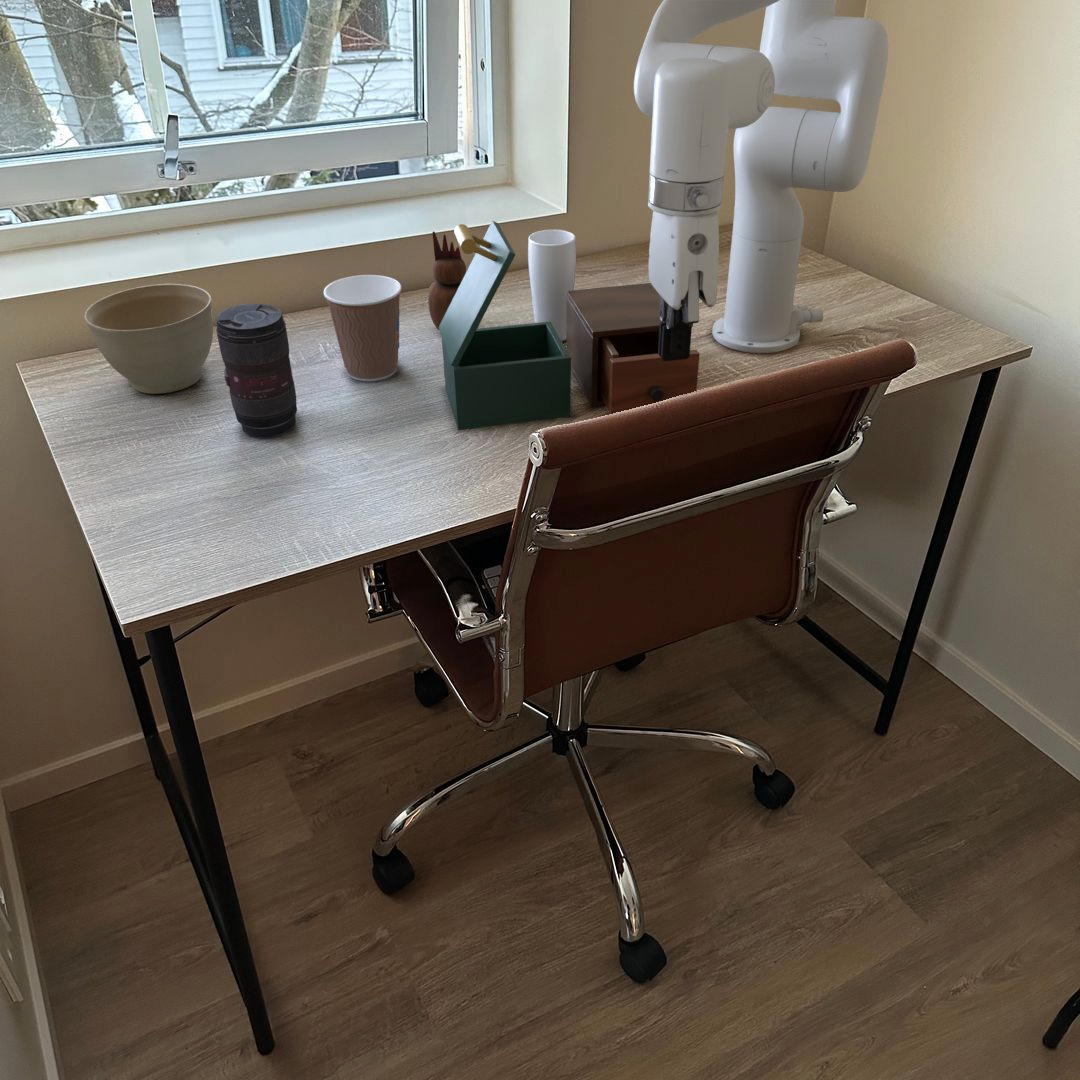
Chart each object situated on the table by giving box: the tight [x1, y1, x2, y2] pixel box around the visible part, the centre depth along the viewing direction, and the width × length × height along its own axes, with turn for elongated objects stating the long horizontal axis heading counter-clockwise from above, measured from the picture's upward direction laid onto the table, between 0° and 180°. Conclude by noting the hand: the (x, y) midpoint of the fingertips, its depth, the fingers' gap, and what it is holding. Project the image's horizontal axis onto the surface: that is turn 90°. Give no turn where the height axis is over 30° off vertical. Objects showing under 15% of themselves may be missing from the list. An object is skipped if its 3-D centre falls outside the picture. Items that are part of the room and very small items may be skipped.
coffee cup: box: [323, 274, 403, 382], centre depth 139 cm, size 10×10×12 cm
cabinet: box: [566, 282, 665, 409], centre depth 136 cm, size 14×12×11 cm
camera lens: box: [215, 303, 298, 439], centre depth 126 cm, size 8×8×15 cm
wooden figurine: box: [427, 231, 467, 331], centre depth 149 cm, size 7×6×15 cm
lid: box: [438, 220, 516, 367], centre depth 124 cm, size 15×12×5 cm
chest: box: [441, 322, 572, 431], centre depth 132 cm, size 15×12×8 cm
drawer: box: [597, 331, 700, 415], centre depth 129 cm, size 14×11×9 cm
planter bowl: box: [84, 283, 214, 395], centre depth 138 cm, size 16×16×11 cm
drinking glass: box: [527, 229, 577, 343], centre depth 147 cm, size 7×7×15 cm
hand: (673, 356), depth 115 cm, fingers closed
